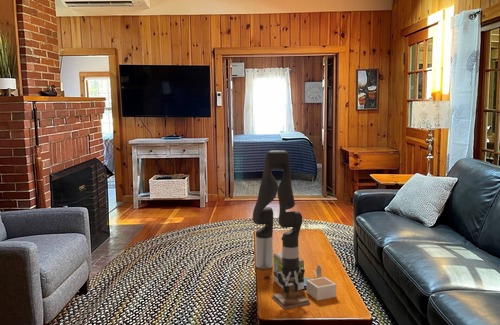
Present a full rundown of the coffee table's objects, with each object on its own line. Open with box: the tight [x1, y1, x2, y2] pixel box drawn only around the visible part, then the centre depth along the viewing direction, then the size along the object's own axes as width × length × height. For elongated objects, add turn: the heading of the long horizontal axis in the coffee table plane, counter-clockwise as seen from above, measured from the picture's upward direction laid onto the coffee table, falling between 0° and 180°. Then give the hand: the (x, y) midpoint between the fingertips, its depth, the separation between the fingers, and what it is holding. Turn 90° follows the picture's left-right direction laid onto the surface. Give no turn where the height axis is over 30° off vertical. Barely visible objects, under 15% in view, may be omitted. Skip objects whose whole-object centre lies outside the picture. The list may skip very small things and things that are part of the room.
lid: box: [272, 283, 310, 307], centre depth 199 cm, size 12×12×7 cm
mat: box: [271, 295, 311, 310], centre depth 200 cm, size 13×13×1 cm
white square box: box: [306, 276, 337, 301], centre depth 205 cm, size 10×10×6 cm
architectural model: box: [313, 264, 322, 278], centre depth 225 cm, size 3×7×7 cm, turn 177°
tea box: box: [273, 252, 305, 291], centre depth 216 cm, size 15×10×15 cm, turn 21°
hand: (290, 291), depth 199 cm, fingers open, 4 cm apart
